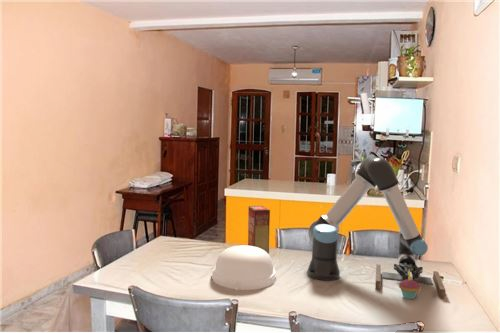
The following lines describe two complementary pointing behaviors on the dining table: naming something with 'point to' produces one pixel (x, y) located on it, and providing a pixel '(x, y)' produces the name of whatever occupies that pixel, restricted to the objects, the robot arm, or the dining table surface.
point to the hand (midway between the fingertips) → (410, 279)
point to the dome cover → (244, 268)
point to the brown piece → (423, 280)
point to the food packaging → (258, 227)
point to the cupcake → (409, 287)
